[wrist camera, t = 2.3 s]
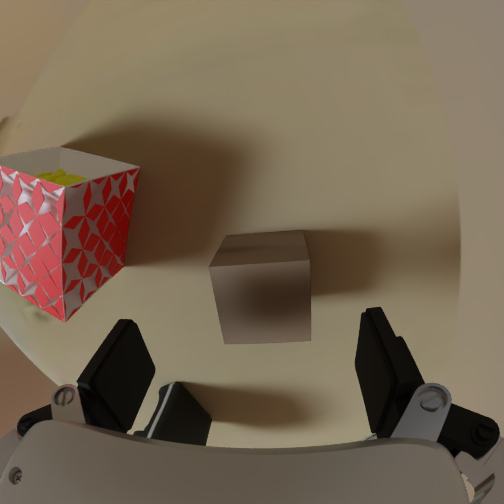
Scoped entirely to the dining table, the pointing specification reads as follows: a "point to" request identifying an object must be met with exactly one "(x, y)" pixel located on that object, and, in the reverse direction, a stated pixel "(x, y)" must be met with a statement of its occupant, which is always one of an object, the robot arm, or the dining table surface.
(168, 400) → the battery charger
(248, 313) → the walnut block
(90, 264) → the puzzle cube
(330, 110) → the dining table surface
